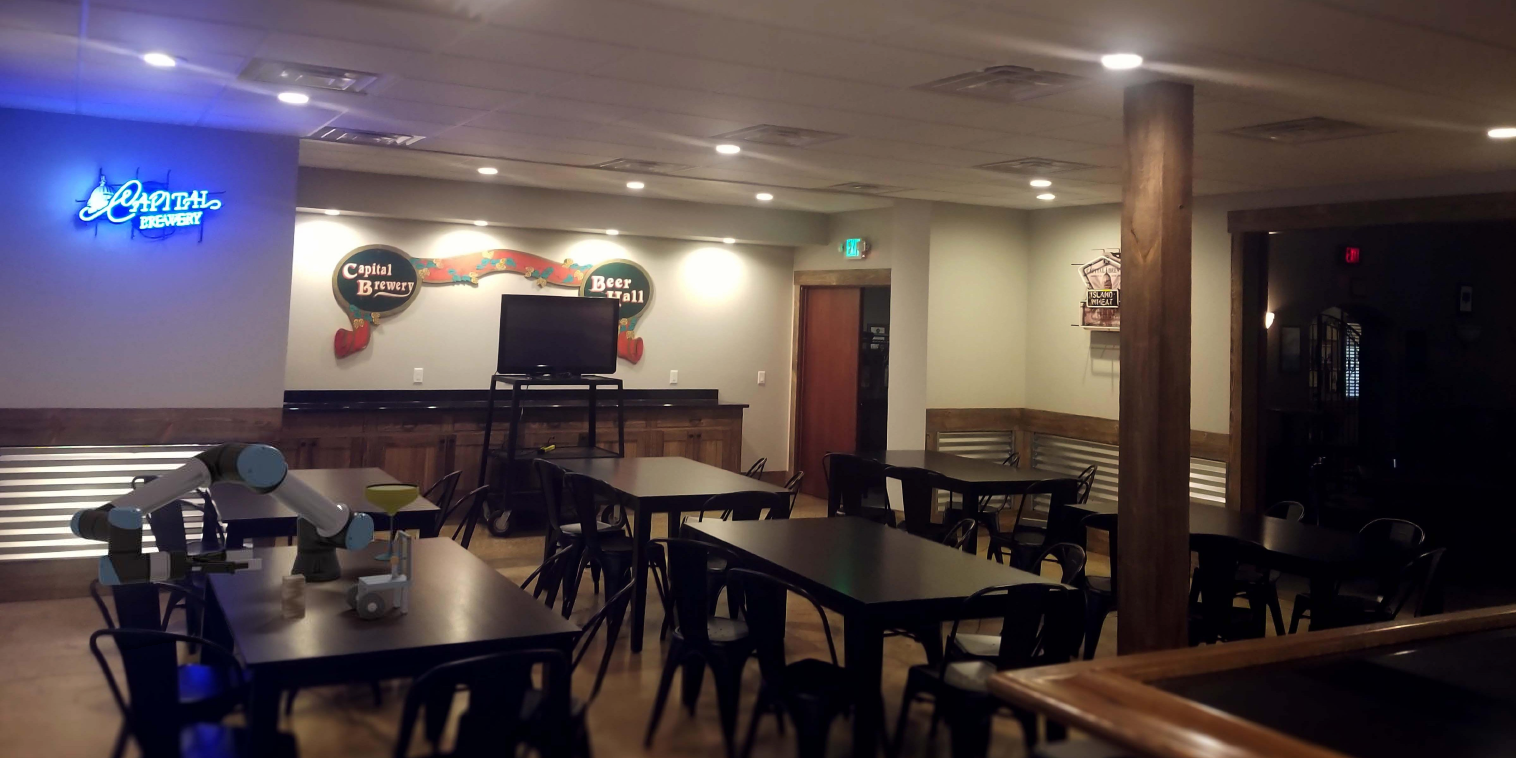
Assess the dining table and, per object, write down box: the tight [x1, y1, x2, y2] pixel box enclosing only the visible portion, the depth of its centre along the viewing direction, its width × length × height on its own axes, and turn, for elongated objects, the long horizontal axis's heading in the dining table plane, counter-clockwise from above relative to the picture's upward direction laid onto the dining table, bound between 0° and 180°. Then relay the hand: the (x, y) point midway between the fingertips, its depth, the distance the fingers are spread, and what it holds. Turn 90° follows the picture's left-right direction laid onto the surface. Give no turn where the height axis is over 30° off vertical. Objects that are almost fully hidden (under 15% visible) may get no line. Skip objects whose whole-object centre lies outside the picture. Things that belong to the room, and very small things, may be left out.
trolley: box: [344, 530, 413, 621], centre depth 306 cm, size 15×15×22 cm
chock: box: [281, 574, 306, 620], centre depth 299 cm, size 5×5×11 cm
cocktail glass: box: [364, 482, 420, 562], centre depth 379 cm, size 18×18×25 cm
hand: (257, 559), depth 294 cm, fingers open, 13 cm apart
